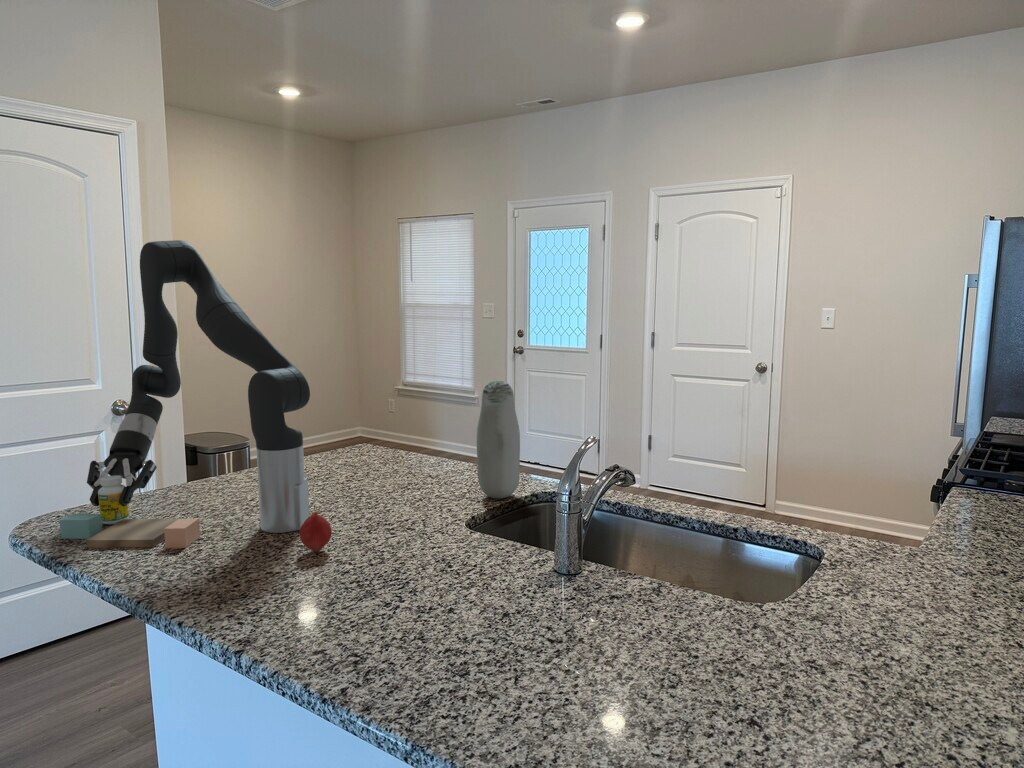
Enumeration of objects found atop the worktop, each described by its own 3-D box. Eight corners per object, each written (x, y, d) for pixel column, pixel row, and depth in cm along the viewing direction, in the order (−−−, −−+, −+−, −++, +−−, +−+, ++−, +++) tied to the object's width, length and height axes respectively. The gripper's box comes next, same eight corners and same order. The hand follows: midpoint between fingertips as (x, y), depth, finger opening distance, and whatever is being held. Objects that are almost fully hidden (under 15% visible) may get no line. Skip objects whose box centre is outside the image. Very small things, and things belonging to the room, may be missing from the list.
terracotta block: (180, 538, 138) (178, 518, 138) (200, 537, 138) (198, 518, 138) (165, 548, 132) (164, 528, 132) (186, 548, 132) (184, 528, 132)
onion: (293, 554, 128) (291, 512, 127) (315, 544, 133) (314, 504, 132) (317, 559, 126) (315, 517, 125) (338, 549, 131) (337, 508, 130)
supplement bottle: (133, 516, 151) (129, 473, 150) (123, 524, 146) (119, 480, 145) (107, 517, 150) (103, 475, 149) (96, 525, 145) (91, 481, 144)
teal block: (102, 532, 142) (101, 514, 141) (89, 539, 138) (87, 520, 138) (74, 532, 142) (73, 513, 142) (61, 538, 138) (59, 519, 138)
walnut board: (185, 525, 146) (184, 518, 146) (153, 547, 133) (153, 539, 133) (123, 525, 146) (123, 519, 145) (86, 547, 133) (85, 540, 133)
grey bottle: (472, 494, 167) (470, 380, 164) (511, 489, 171) (510, 378, 167) (485, 505, 158) (483, 384, 155) (526, 500, 161) (525, 382, 158)
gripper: (94, 429, 153) (65, 496, 143) (159, 428, 153) (134, 495, 143) (110, 447, 159) (83, 513, 149) (172, 446, 159) (149, 512, 149)
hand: (108, 504), depth 146 cm, fingers closed on supplement bottle, 5 cm apart
